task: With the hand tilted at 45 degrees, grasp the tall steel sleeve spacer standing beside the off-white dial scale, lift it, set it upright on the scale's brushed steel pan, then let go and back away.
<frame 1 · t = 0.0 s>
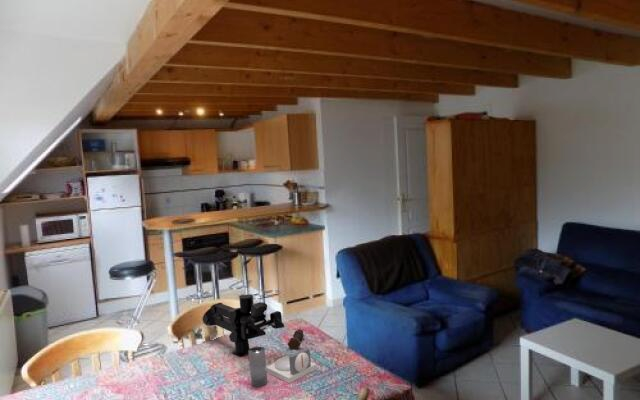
hand: (274, 329, 168), 17 cm above the table, tool horizontal, fingers open, 9 cm apart
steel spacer: (259, 383, 160), on the table
dark brown lobed figurine: (297, 343, 194), on the table
dial scale: (291, 370, 168), on the table
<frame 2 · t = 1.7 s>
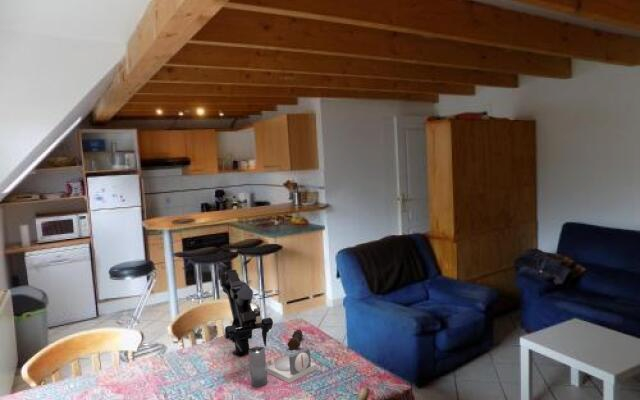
hand: (253, 348, 163), 12 cm above the table, tool tilted 45°, fingers open, 9 cm apart
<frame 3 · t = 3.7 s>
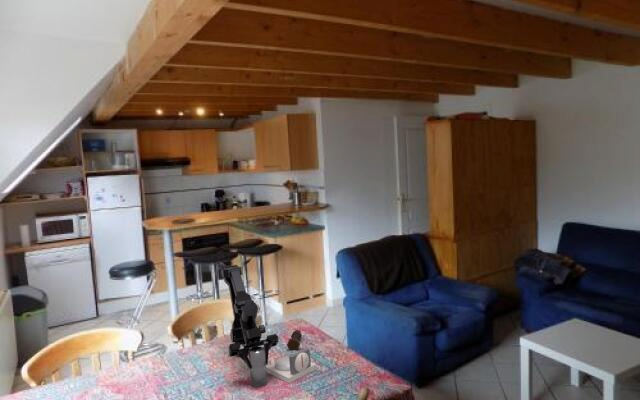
hand: (258, 366, 158), 7 cm above the table, tool tilted 45°, fingers closed on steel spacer, 6 cm apart
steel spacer: (259, 383, 160), on the table, touching gripper
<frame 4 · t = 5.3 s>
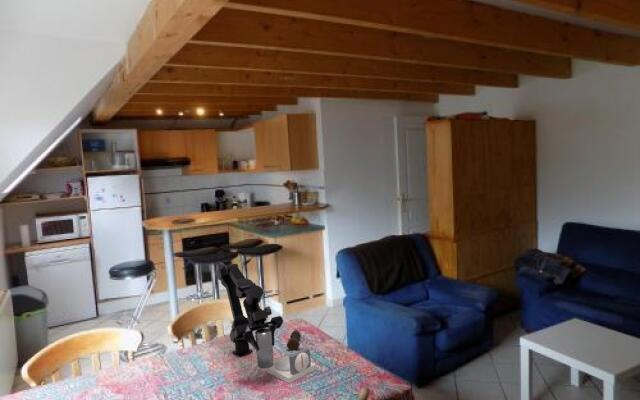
hand: (265, 347, 159), 13 cm above the table, tool tilted 45°, fingers closed on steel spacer, 6 cm apart
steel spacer: (265, 364, 161), point 6 cm above the table, touching gripper
when the fingers open (11 cm above the table, at t = 7.0 s): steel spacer stays where it is, resting on dial scale.
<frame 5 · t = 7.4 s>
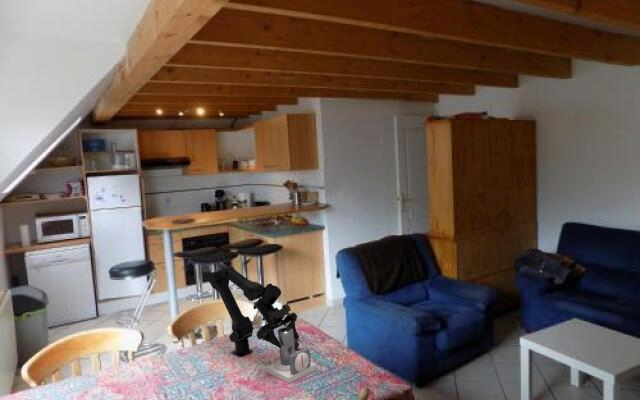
hand: (289, 343, 167), 11 cm above the table, tool tilted 45°, fingers open, 9 cm apart
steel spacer: (288, 361, 169), point 3 cm above the table, touching dial scale
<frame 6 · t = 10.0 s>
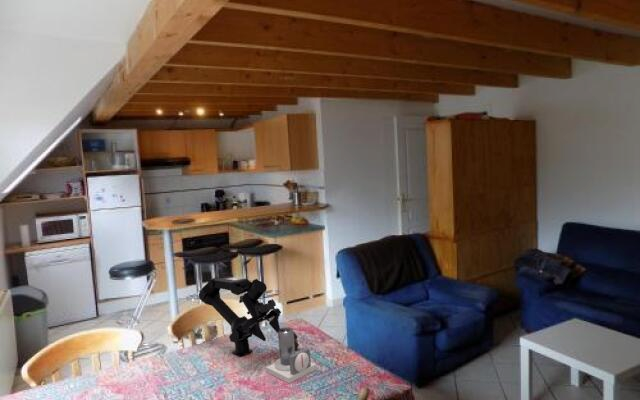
hand: (272, 337, 174), 11 cm above the table, tool tilted 40°, fingers open, 9 cm apart
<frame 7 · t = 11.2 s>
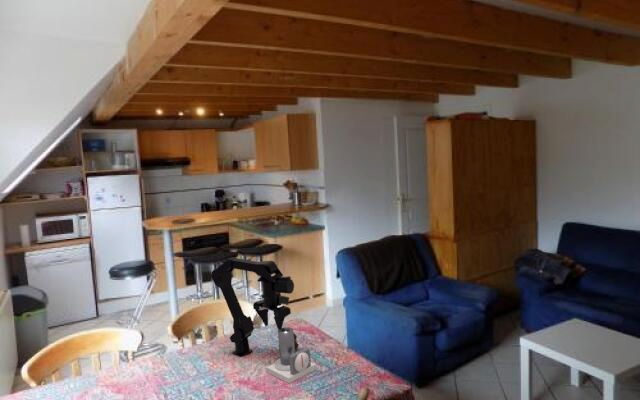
hand: (273, 328, 179), 13 cm above the table, tool pointing down, fingers open, 9 cm apart
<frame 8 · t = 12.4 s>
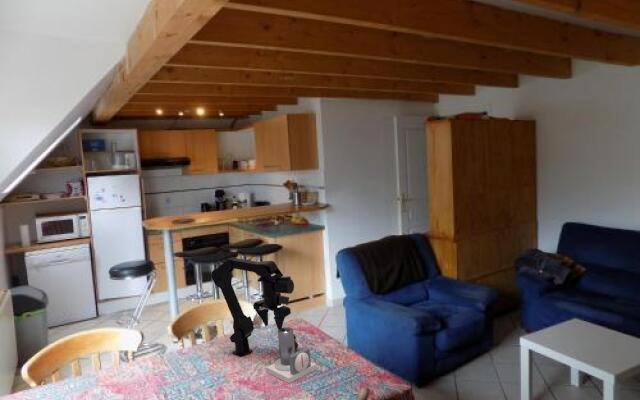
hand: (273, 328, 179), 13 cm above the table, tool pointing down, fingers open, 9 cm apart
at the end: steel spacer inside the target area on the dial scale (0.2 cm from its centre), point 3.0 cm above the dial scale's base; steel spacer tilted 0°; the gripper is holding nothing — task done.
